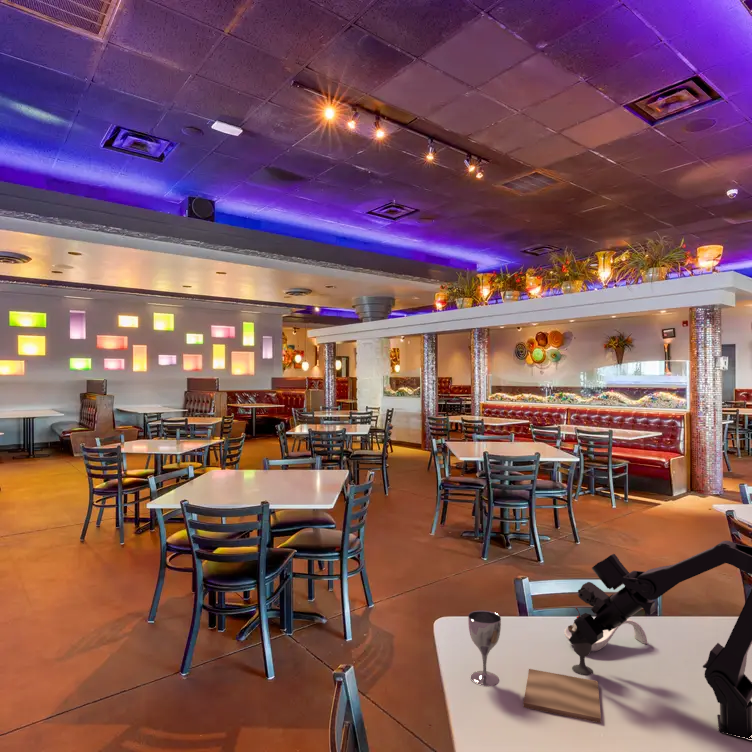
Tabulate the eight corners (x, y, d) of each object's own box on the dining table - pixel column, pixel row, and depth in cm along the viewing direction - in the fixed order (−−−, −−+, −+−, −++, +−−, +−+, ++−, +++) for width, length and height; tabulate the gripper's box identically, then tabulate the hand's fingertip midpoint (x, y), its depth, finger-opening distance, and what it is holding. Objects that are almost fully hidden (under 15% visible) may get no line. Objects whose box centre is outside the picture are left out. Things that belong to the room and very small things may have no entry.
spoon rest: (580, 659, 140) (580, 631, 140) (556, 639, 151) (556, 614, 152) (656, 650, 145) (656, 624, 145) (627, 632, 156) (627, 607, 157)
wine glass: (477, 689, 124) (477, 624, 125) (463, 672, 132) (463, 612, 133) (507, 684, 126) (506, 621, 127) (491, 668, 134) (491, 608, 135)
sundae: (573, 661, 138) (572, 603, 139) (599, 669, 134) (598, 609, 135) (564, 670, 133) (563, 610, 134) (591, 679, 129) (590, 617, 130)
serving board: (600, 723, 111) (600, 718, 111) (523, 707, 117) (523, 702, 117) (597, 685, 126) (597, 681, 126) (529, 672, 132) (529, 668, 132)
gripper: (614, 567, 138) (574, 598, 145) (581, 584, 125) (540, 616, 133) (646, 606, 132) (602, 636, 139) (615, 628, 119) (569, 660, 126)
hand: (578, 636), depth 135 cm, fingers open, 9 cm apart
